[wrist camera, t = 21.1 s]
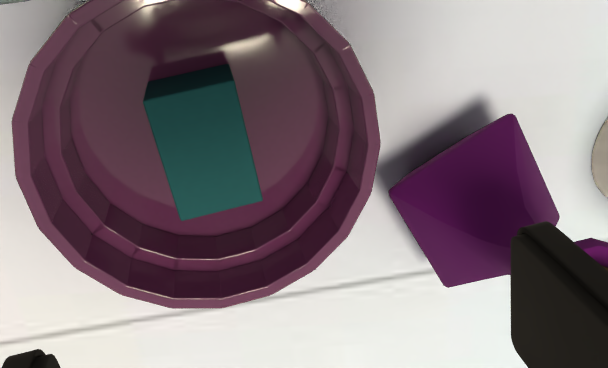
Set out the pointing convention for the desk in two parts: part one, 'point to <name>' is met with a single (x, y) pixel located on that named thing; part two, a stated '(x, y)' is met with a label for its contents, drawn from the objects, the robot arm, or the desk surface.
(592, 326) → the robot arm
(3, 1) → the green tumbler
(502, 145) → the perfume bottle
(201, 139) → the eraser
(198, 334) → the desk surface
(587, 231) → the desk surface
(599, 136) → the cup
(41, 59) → the bowl
